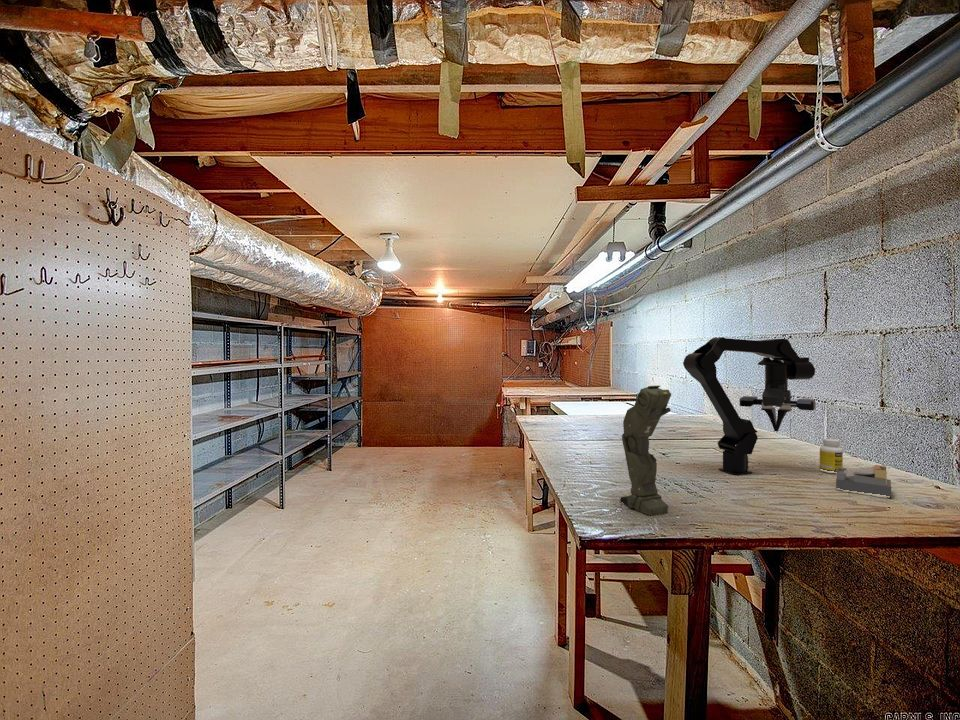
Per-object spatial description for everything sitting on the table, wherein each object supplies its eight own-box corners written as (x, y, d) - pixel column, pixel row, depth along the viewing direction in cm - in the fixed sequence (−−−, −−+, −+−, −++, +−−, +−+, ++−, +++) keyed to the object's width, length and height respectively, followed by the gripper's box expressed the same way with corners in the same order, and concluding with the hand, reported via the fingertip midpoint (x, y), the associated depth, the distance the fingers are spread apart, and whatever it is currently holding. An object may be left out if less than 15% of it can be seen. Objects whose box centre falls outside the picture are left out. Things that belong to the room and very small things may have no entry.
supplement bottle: (837, 475, 128) (837, 442, 128) (816, 471, 133) (815, 439, 133) (846, 473, 131) (846, 440, 131) (824, 469, 136) (824, 437, 136)
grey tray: (835, 490, 114) (835, 465, 114) (838, 483, 120) (837, 460, 120) (891, 499, 107) (891, 472, 107) (890, 491, 113) (890, 466, 113)
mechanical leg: (606, 494, 111) (624, 379, 104) (629, 490, 114) (648, 378, 107) (643, 526, 99) (667, 398, 92) (669, 521, 101) (693, 397, 94)
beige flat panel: (837, 473, 116) (879, 468, 110) (838, 469, 119) (879, 465, 113) (839, 478, 115) (881, 473, 110) (840, 474, 119) (881, 469, 113)
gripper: (735, 380, 135) (735, 431, 135) (811, 382, 122) (811, 438, 122) (743, 378, 143) (743, 426, 143) (815, 380, 130) (815, 433, 131)
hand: (776, 431), depth 135 cm, fingers closed
